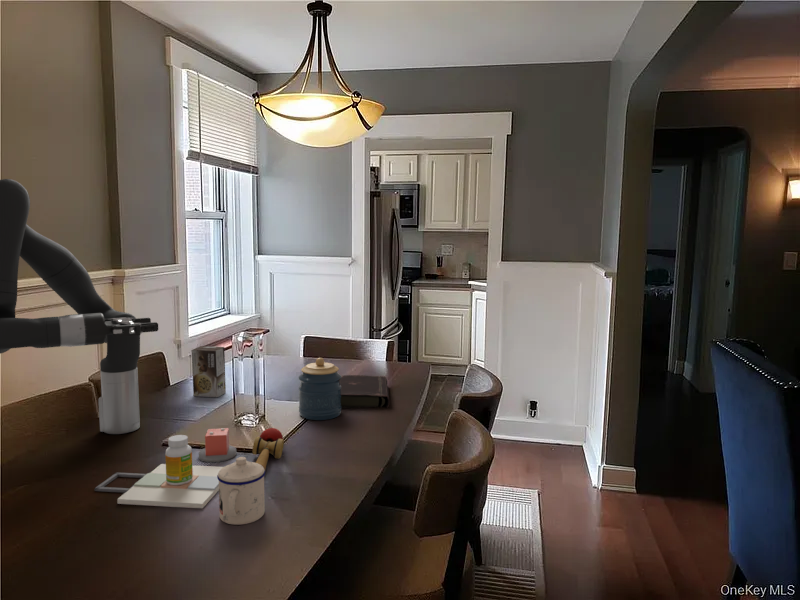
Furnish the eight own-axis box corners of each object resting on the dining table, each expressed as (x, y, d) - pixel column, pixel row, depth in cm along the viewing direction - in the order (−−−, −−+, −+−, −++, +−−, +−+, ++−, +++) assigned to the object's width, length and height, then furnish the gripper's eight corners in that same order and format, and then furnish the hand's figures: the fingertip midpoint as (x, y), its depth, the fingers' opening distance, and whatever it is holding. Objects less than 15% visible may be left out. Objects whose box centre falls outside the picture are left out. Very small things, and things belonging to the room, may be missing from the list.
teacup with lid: (226, 503, 119) (225, 449, 117) (270, 504, 119) (269, 449, 117) (206, 534, 107) (205, 474, 106) (255, 534, 107) (254, 474, 106)
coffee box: (226, 392, 199) (225, 346, 197) (217, 397, 193) (216, 350, 191) (202, 391, 200) (200, 345, 199) (192, 396, 194) (190, 349, 192)
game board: (80, 501, 119) (79, 495, 119) (128, 466, 137) (128, 460, 137) (202, 508, 117) (202, 501, 116) (235, 471, 134) (235, 465, 134)
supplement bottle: (183, 487, 123) (182, 443, 122) (161, 484, 124) (159, 441, 123) (197, 476, 128) (196, 434, 127) (175, 474, 129) (174, 432, 128)
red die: (195, 463, 139) (194, 437, 138) (201, 449, 148) (201, 424, 147) (234, 461, 140) (233, 435, 140) (238, 447, 149) (237, 423, 148)
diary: (386, 388, 209) (387, 375, 209) (389, 410, 184) (389, 394, 184) (335, 388, 208) (335, 374, 208) (330, 409, 183) (331, 394, 183)
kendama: (279, 480, 133) (290, 442, 151) (273, 456, 132) (285, 420, 149) (246, 486, 133) (261, 446, 151) (239, 462, 132) (256, 425, 149)
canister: (303, 407, 184) (303, 352, 182) (344, 408, 183) (344, 353, 181) (294, 420, 171) (294, 362, 169) (338, 421, 170) (338, 363, 168)
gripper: (84, 318, 130) (160, 312, 140) (77, 310, 142) (147, 306, 151) (86, 350, 131) (161, 343, 141) (78, 340, 143) (148, 334, 152)
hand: (154, 324), depth 146 cm, fingers open, 8 cm apart
